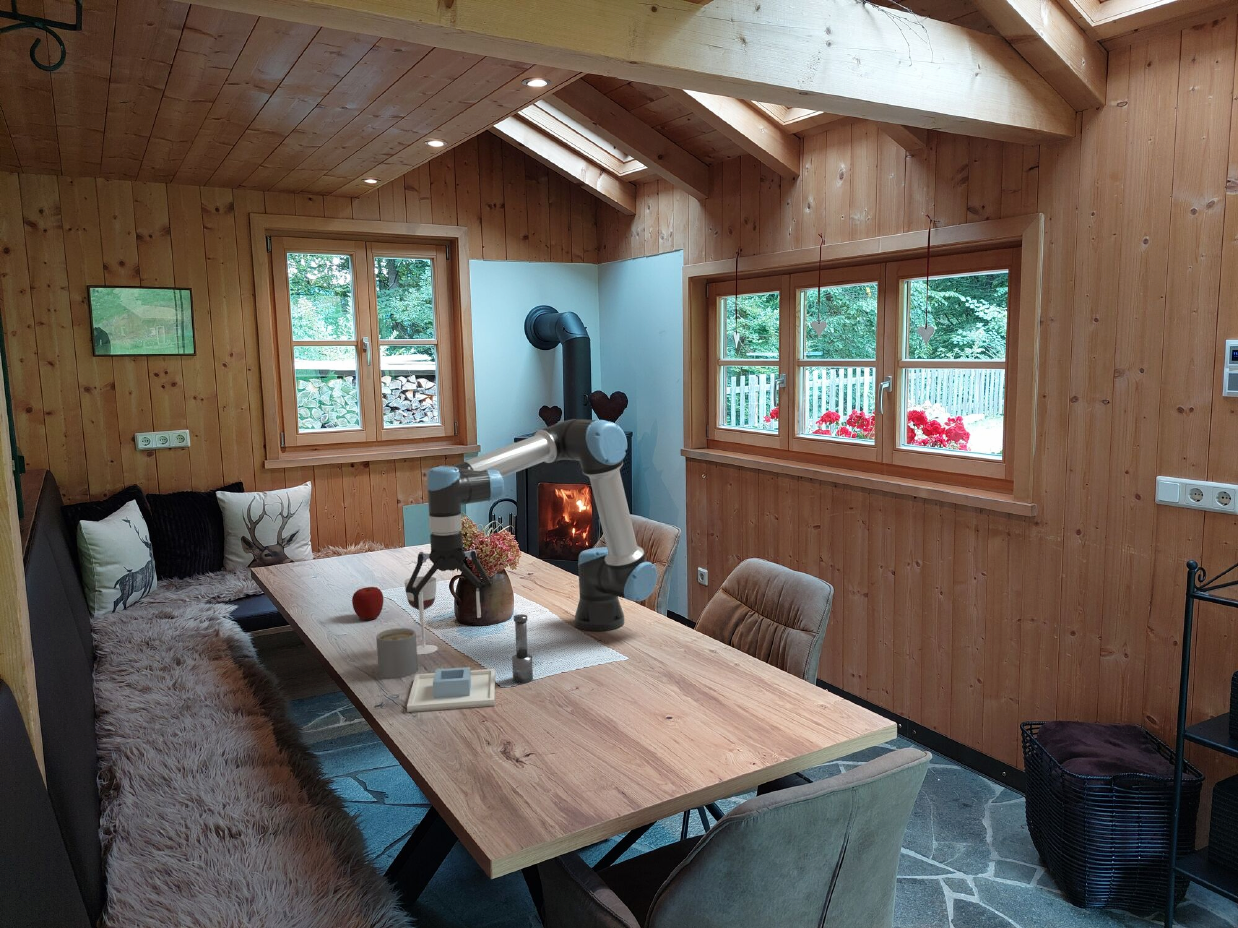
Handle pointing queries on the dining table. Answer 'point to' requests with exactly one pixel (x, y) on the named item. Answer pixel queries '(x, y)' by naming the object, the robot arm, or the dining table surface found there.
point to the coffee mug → (397, 653)
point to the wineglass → (428, 600)
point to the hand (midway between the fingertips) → (450, 618)
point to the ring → (452, 682)
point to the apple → (368, 602)
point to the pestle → (521, 652)
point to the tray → (479, 697)
